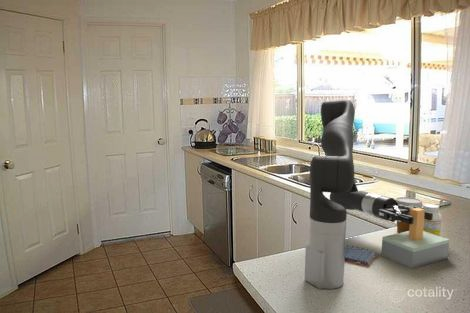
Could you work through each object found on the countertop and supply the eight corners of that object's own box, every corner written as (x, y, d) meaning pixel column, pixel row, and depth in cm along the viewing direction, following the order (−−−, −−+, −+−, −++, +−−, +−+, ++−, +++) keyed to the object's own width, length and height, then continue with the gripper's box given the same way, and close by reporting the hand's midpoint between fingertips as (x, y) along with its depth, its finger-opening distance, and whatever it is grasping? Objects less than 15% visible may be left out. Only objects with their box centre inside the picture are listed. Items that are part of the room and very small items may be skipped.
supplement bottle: (420, 237, 136) (423, 202, 134) (441, 242, 132) (444, 205, 130) (415, 243, 131) (417, 206, 129) (437, 247, 127) (440, 209, 125)
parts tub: (412, 268, 111) (413, 252, 110) (381, 255, 120) (382, 239, 119) (447, 258, 118) (449, 242, 117) (416, 246, 128) (417, 231, 127)
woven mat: (333, 261, 117) (333, 254, 117) (344, 250, 126) (345, 244, 126) (368, 269, 111) (369, 262, 111) (378, 257, 120) (378, 250, 120)
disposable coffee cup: (424, 231, 142) (426, 199, 141) (415, 238, 136) (417, 204, 134) (398, 226, 149) (400, 195, 147) (388, 232, 142) (390, 200, 140)
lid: (413, 256, 110) (415, 217, 108) (382, 243, 120) (384, 208, 118) (448, 246, 117) (451, 210, 116) (417, 235, 127) (419, 202, 126)
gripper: (364, 197, 126) (407, 209, 112) (394, 192, 133) (438, 203, 119) (363, 220, 127) (405, 234, 113) (393, 214, 134) (437, 227, 120)
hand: (422, 219), depth 116 cm, fingers open, 8 cm apart
